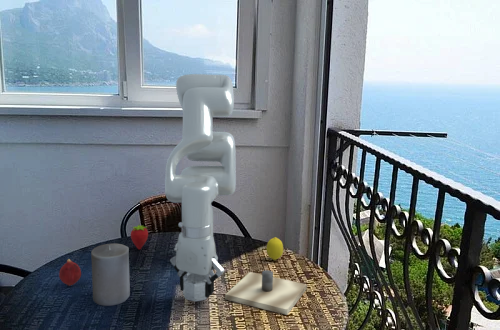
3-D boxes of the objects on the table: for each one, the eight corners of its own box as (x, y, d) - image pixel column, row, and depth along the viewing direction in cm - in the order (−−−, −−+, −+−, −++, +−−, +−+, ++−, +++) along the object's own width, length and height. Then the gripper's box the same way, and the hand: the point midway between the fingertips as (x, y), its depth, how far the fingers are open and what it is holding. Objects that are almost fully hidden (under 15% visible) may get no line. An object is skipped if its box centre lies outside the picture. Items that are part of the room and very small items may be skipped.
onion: (86, 283, 132) (84, 257, 131) (70, 292, 127) (69, 265, 126) (71, 279, 135) (69, 253, 133) (55, 287, 130) (53, 261, 128)
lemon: (281, 264, 149) (282, 241, 147) (264, 262, 150) (265, 239, 148) (283, 257, 154) (284, 235, 152) (267, 256, 155) (268, 233, 153)
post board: (225, 299, 125) (225, 277, 124) (249, 276, 139) (250, 256, 138) (287, 314, 118) (288, 291, 116) (306, 289, 132) (307, 268, 131)
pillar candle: (88, 294, 126) (85, 243, 123) (122, 285, 132) (120, 236, 128) (100, 310, 118) (98, 255, 115) (136, 299, 124) (134, 247, 121)
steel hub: (178, 297, 122) (178, 279, 121) (192, 285, 128) (192, 269, 127) (201, 303, 119) (201, 285, 118) (214, 291, 125) (214, 274, 124)
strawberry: (148, 244, 163) (148, 217, 161) (148, 253, 155) (147, 224, 153) (131, 245, 162) (130, 218, 160) (130, 253, 154) (129, 225, 152)
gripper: (160, 228, 119) (161, 290, 123) (218, 240, 112) (218, 306, 116) (176, 219, 126) (177, 279, 130) (232, 230, 119) (231, 293, 123)
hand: (196, 291), depth 123 cm, fingers closed on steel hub, 7 cm apart
